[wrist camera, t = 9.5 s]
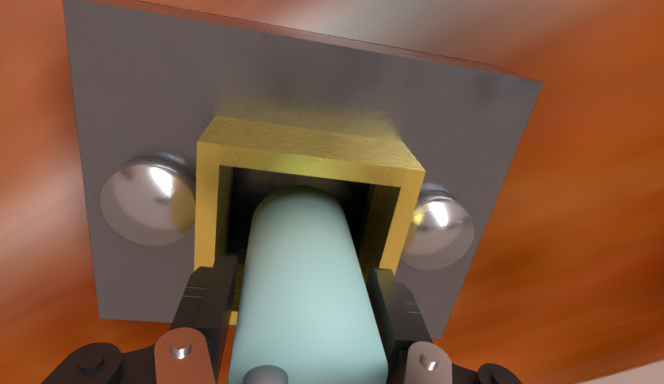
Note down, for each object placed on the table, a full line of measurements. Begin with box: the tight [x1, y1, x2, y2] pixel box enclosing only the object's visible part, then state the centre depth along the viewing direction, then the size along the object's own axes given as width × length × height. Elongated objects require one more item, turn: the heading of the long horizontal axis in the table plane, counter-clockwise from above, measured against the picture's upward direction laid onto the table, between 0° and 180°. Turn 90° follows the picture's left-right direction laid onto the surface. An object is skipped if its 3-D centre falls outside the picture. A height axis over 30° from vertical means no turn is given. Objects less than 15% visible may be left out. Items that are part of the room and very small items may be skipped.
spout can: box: [228, 185, 388, 384], centre depth 13 cm, size 4×4×10 cm
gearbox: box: [63, 0, 543, 339], centre depth 20 cm, size 20×16×10 cm
